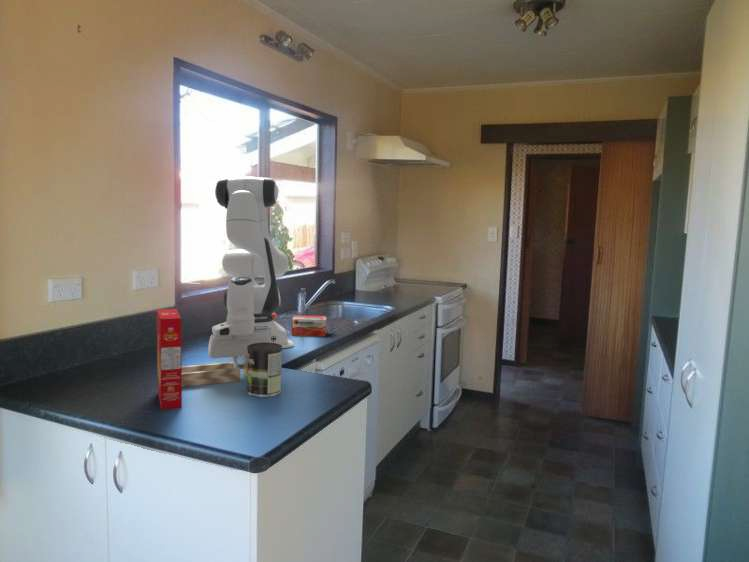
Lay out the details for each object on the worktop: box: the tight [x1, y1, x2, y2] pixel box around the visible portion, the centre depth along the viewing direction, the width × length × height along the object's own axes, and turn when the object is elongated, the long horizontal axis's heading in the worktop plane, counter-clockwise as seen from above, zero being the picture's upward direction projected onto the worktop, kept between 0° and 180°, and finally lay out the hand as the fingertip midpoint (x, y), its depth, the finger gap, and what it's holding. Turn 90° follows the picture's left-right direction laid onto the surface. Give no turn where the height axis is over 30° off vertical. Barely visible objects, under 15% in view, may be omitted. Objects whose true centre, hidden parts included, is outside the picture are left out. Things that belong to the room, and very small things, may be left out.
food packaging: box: [156, 308, 183, 411], centre depth 160 cm, size 15×5×25 cm, turn 24°
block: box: [243, 361, 248, 377], centre depth 188 cm, size 5×5×5 cm
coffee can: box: [246, 343, 283, 398], centre depth 171 cm, size 10×10×14 cm
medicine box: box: [291, 314, 328, 338], centre depth 255 cm, size 15×8×8 cm, turn 91°
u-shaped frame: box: [182, 361, 241, 388], centre depth 181 cm, size 20×9×5 cm, turn 117°
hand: (240, 368), depth 186 cm, fingers closed
